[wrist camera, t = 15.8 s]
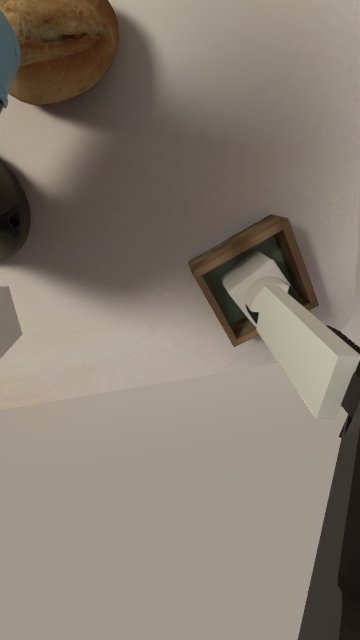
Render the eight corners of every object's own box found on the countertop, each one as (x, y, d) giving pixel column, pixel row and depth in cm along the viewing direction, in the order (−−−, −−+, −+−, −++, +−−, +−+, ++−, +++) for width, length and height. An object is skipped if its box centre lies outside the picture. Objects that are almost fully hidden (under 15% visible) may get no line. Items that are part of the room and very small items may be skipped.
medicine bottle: (279, 282, 43) (317, 312, 32) (243, 308, 45) (267, 346, 34) (255, 247, 40) (289, 268, 29) (218, 277, 42) (236, 307, 31)
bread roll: (136, 86, 32) (128, 56, 25) (25, 129, 33) (-14, 112, 26) (103, -26, 28) (81, -102, 21) (-23, 28, 29) (-84, -25, 22)
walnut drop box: (226, 329, 47) (234, 347, 42) (188, 262, 42) (191, 272, 36) (300, 291, 45) (318, 305, 39) (271, 214, 39) (288, 218, 34)
